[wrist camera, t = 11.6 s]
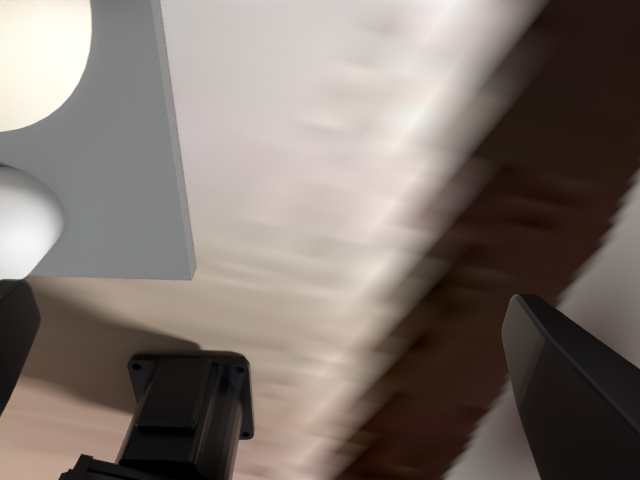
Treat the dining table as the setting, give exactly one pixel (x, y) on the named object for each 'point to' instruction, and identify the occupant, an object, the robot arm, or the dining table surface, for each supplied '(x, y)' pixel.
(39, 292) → the dining table surface
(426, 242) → the dining table surface
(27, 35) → the carrier plate
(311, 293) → the dining table surface
